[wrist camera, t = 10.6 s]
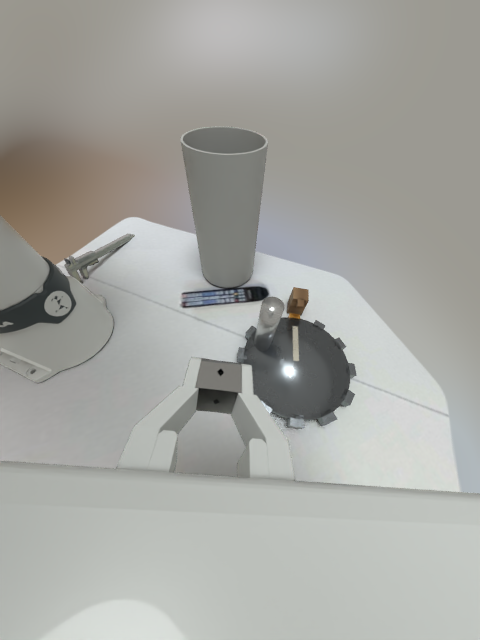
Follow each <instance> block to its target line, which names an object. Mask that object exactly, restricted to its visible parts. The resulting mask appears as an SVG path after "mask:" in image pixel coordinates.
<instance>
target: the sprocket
mask: <svg viewBox="0 0 480 640" xmlns="http://www.w3.org/2000/svg"><path fill="white" fill-rule="evenodd" d="M283 311H284V303H283V302H282V301H281V300H280V299H278V298H276V297H268V298H265V299H264V300H263V302H262V305H261V310H260V315H259V320H258V324H257V329H256V328H255V327H253V326H251V328H250V329H249V330H248V331H247V332H246V336H245V338H247V339H248V341H247V344H246V346H245V348H240V347H239V350H238V357H237V362H242V363H243V364H247V365H251V366H252V376H253V393H254V395H257V396H258V398H259V399H260V401H261V402H262V404H263V405H264V407H265V408H266V410H267V411H268V412H269V414H270V413H271V412H273V413H274V414H276V415H278V416H281V417H283V418H286V419H287V427H292V428H298V429H302V428H304V421H310V420H314V419H318V421H319V423H320V425H321V426H323V425H327V424H329V423H330V422H332V421H334V420H336V419H337V418H336V416H335V415H334V413H333V411H334V410H335V409H337V408H338V407H339V406H340V404H341V405H343V406H344V407H346V406H348V405H350V404H351V402H352V400H353V397H354V395H355V394H354V393H353V392H351V391H350V390H348V389H349V384H350V378H353V377H354V376H356V371H355V366H354V364H352V363H348V362H347V359H346V356H345V354H344V352H343V349H344V348H345V347H346V346H345V345H344V343H343V342H342V341H341V339H340V338H337V339H334V338H333V337H332V336H331V335H330V334H329V333H327V332H326V331H325V330H323V329H324V327H325V325H324V324H322V323H320V322H318V321H317V320H316V321H315V322H314V324H313V323H311V322H309V321H306V320H302V319H300V314H292V313H290V314H289V316H288V318H281V316H282V313H283Z"/></svg>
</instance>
